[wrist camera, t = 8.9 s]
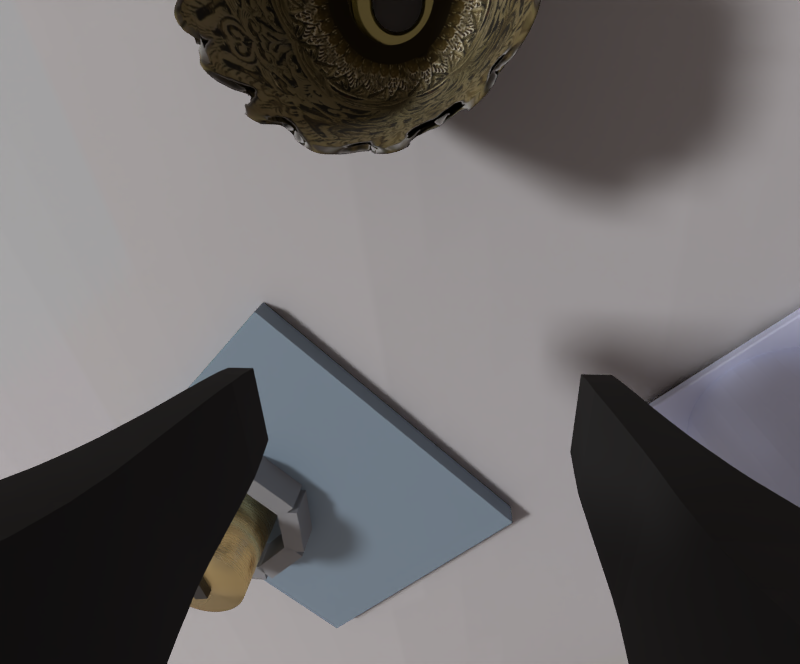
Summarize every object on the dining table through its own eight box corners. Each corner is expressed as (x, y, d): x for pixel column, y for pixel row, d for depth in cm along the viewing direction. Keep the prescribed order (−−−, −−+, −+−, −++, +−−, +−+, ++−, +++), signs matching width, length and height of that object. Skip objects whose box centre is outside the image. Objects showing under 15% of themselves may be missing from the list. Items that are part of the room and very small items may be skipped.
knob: (288, 529, 26) (254, 618, 22) (221, 535, 27) (176, 621, 23) (261, 473, 24) (219, 557, 20) (192, 481, 25) (137, 564, 21)
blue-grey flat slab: (510, 507, 25) (515, 548, 23) (340, 612, 31) (330, 653, 28) (263, 302, 21) (240, 327, 19) (121, 465, 27) (90, 499, 25)
